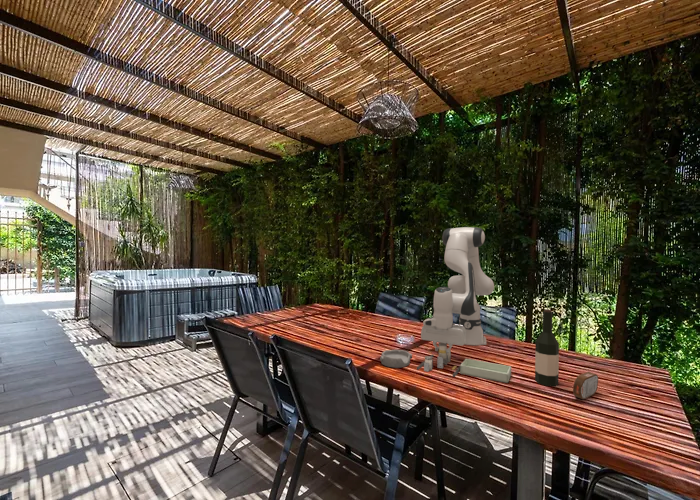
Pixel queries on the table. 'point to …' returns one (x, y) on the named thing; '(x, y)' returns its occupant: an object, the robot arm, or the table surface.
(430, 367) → the fuse cartridge near camera
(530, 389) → the table surface
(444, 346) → the cylinder
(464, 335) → the robot arm
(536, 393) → the table surface
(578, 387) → the tin
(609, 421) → the table surface
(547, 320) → the wine bottle
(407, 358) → the dish
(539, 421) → the table surface
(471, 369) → the tray
